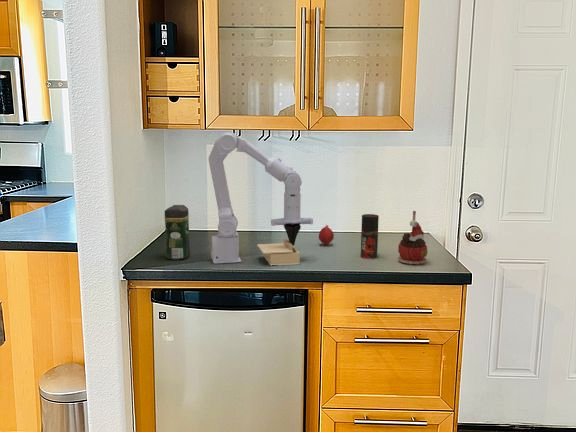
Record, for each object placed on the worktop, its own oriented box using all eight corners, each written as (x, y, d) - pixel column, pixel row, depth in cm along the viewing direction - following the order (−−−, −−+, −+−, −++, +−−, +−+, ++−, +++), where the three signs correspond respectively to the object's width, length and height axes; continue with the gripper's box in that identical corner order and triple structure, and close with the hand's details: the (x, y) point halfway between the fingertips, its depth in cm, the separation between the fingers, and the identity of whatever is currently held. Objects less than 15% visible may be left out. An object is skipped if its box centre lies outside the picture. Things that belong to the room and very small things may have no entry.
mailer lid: (263, 253, 184) (263, 246, 184) (257, 245, 196) (257, 238, 195) (293, 252, 186) (293, 245, 186) (285, 244, 198) (285, 237, 198)
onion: (321, 247, 212) (321, 226, 211) (316, 243, 218) (316, 223, 216) (335, 246, 214) (336, 226, 212) (330, 243, 219) (330, 223, 218)
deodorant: (379, 255, 200) (381, 215, 197) (373, 259, 195) (374, 217, 192) (364, 253, 203) (365, 213, 200) (357, 257, 198) (359, 216, 195)
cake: (409, 256, 199) (411, 207, 195) (432, 262, 192) (434, 211, 189) (391, 262, 192) (393, 211, 188) (414, 267, 185) (417, 214, 182)
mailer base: (270, 265, 186) (270, 254, 185) (264, 256, 197) (264, 246, 196) (299, 264, 188) (299, 252, 187) (291, 255, 199) (291, 244, 199)
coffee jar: (170, 253, 201) (168, 203, 198) (191, 253, 201) (190, 203, 198) (163, 260, 192) (161, 207, 188) (186, 260, 191) (184, 208, 188)
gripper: (273, 209, 184) (273, 248, 187) (315, 207, 188) (315, 246, 190) (269, 205, 191) (269, 243, 194) (310, 204, 194) (309, 242, 197)
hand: (291, 245), depth 192 cm, fingers closed
